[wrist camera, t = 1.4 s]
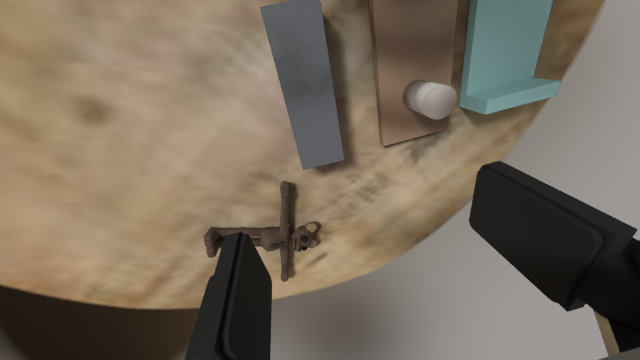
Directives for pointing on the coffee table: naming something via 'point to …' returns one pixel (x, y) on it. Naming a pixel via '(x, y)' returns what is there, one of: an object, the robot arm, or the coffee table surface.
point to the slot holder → (504, 55)
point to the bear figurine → (269, 235)
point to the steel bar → (305, 78)
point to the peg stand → (413, 66)
